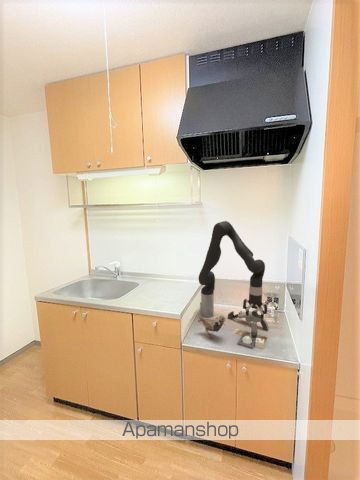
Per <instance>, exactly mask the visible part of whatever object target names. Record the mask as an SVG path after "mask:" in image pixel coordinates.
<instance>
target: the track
mask: <svg viewBox="0 0 360 480" xmlns="http://www.w3.org/2000/svg"><path fill="white" fill-rule="evenodd" d="M232 333H233V334H235V335H239V336H241V337H242V336H249V337H250V338H253V337H251V331H247V330H243V329H239V328H236V329H235V330H234V331H233V332H232ZM257 338H261V339H264V343H266V342H267V340H268V338H269V337H268V336H264V335H260V334H258V333H257ZM253 339H256V338H253Z"/></svg>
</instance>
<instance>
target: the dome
mask: <svg viewBox="0 0 360 480" xmlns="http://www.w3.org/2000/svg"><path fill="white" fill-rule="evenodd" d="M242 343H244V344H248V345H251V344H252V339H251V338H250V337H249V336H245V337H243V341H242Z"/></svg>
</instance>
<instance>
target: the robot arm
mask: <svg viewBox="0 0 360 480" xmlns="http://www.w3.org/2000/svg"><path fill="white" fill-rule="evenodd" d="M225 236H227V237H228V238H229V239H230V240H231V242H232V244H233V247H234V250H235V252H236V253H237V255H238V256H239V257H240V258H241V260H243V261H244V264H245V266H246V268H247V269H248V271H250V272H251V273H252V275H250V279H249V287H248V288H249V291H248V299H247V298H244V299H243V303H242V309H244V310H245V312H246V315H247V316H248V315H249V312H250V309H251V308H252V309H254V310H257V309H258V311H259V312H260V315H261V320H262V319H263V318H264V319H265V315H267V313H268V303H267V302H265V303H263V278H264V275H265V271H266V264H265V262H264V260H262V259H254V252H252V251H251V249H250V248H249V247H248V246H247V245H246V244H245V242H244V241H243V240H242V239H241V237H240V236H239V234H238V232H237V231H236V230H235V229H234V227H233V225H232V224H231V223H230V221H227V220H224V221H220V222H217V223H215V224H214V226H213V228H212V234H211V238H210V239H211V240H210V243H209V246H208V250H207V252H206V255H205V259H204V262H203V265H202V268H201V270H200V272H199V273H198V274H199V275H198V282H199V285H201V286H203V287H202V288H201V290H200V297H201V298H200V302H199V307H200V309H199V315H201V316H202V317H204V318H210V317H214V316H215V315H214V312H215V308H214V307H215V306H214V305H215V304H214V302H215V301H214V299H215V297H214V295H215V293H214V291H215V287H216V286H215V285H216V276H215V274H214V272H213V271H212V270H213V268H215V266H217V264H218V263H219V261H220V258H221V256H222V250H221V243H222V239H223V237H225ZM247 303H248V306H247ZM263 308H264V309H263Z"/></svg>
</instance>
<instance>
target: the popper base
mask: <svg viewBox="0 0 360 480" xmlns="http://www.w3.org/2000/svg"><path fill="white" fill-rule="evenodd" d="M243 337H245V336H242V335H241V337H240V338H239V340H238V341H237V343H236V345H238V346H240V347H244V348H247V349H250V350H253V349H254V347H255V342H256V339H253V338H251V339H252V344H251V345H248V344H244V343H243Z"/></svg>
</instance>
